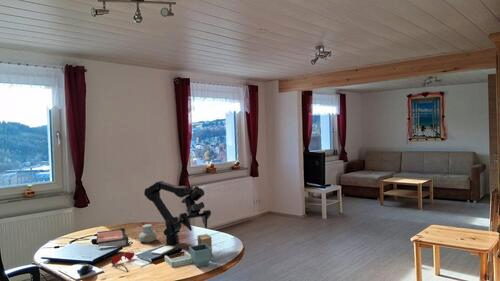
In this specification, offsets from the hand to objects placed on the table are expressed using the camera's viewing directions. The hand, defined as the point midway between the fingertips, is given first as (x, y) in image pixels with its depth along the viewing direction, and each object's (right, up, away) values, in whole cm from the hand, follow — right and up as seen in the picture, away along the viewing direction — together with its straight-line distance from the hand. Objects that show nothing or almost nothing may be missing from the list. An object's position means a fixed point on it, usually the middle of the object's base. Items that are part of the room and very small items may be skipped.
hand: (198, 229), depth 210 cm
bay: (-9, -14, -12) cm, 20 cm away
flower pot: (+4, -14, -19) cm, 24 cm away
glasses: (-33, -15, -15) cm, 39 cm away
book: (-58, -15, +27) cm, 66 cm away
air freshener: (-35, -14, +25) cm, 45 cm away
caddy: (+4, -13, -7) cm, 15 cm away
